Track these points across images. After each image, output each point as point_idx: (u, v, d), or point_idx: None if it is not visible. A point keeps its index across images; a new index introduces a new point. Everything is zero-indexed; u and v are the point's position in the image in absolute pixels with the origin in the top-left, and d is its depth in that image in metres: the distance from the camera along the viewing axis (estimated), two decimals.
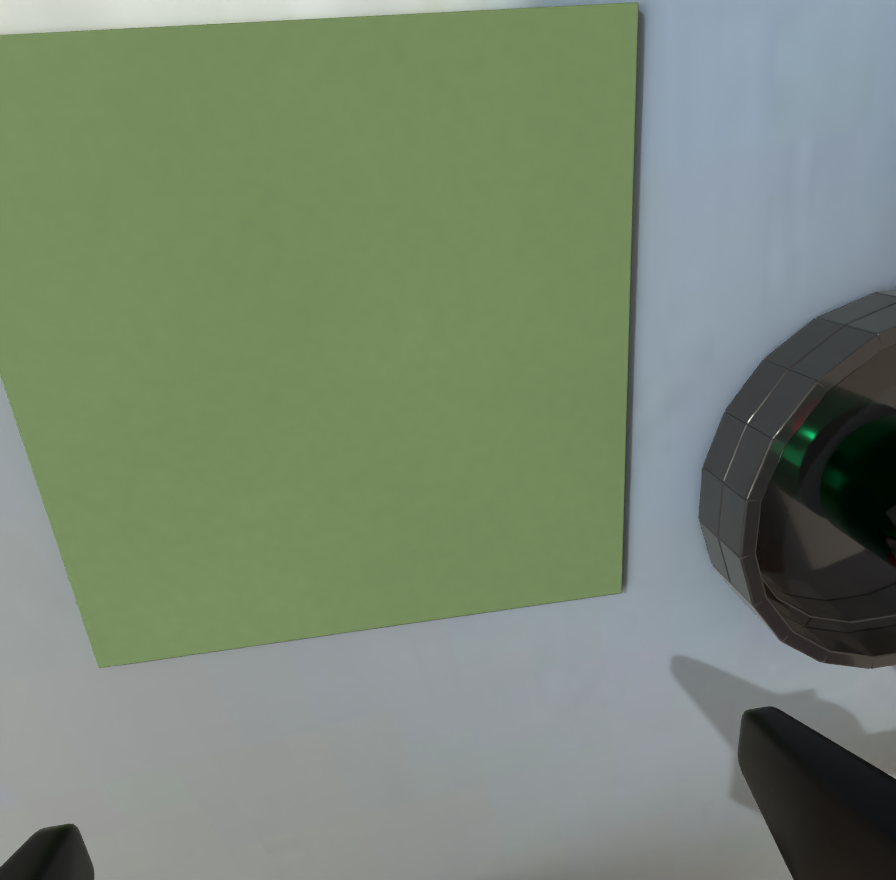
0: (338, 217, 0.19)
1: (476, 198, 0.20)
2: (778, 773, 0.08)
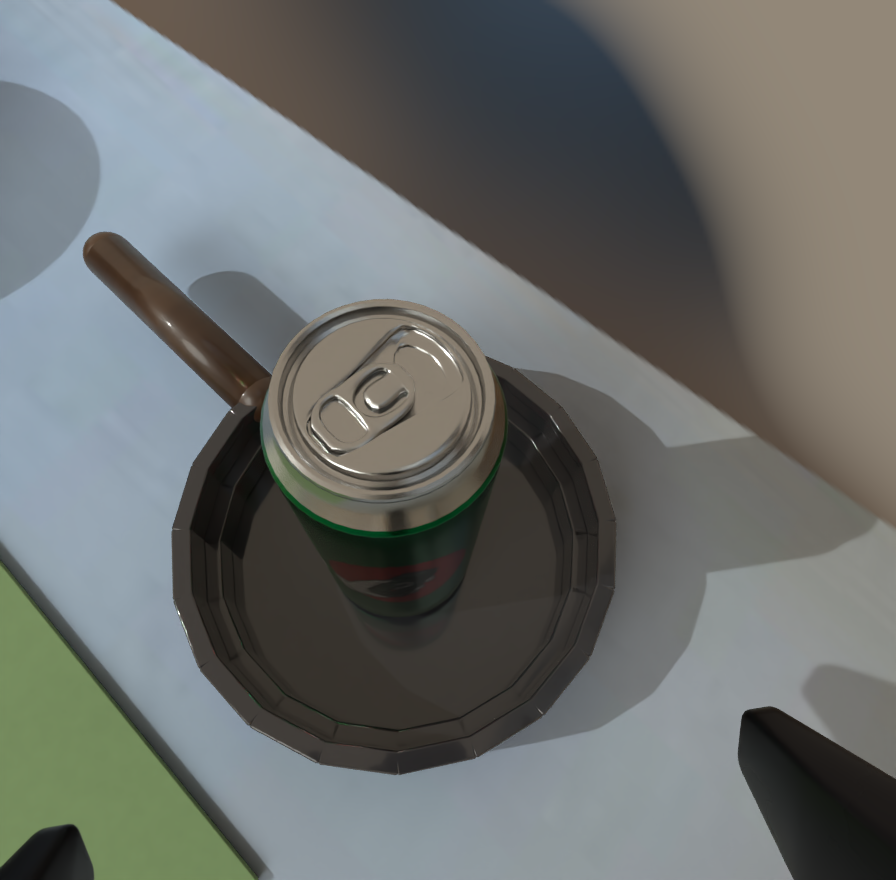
0: None
1: None
2: (778, 773, 0.08)
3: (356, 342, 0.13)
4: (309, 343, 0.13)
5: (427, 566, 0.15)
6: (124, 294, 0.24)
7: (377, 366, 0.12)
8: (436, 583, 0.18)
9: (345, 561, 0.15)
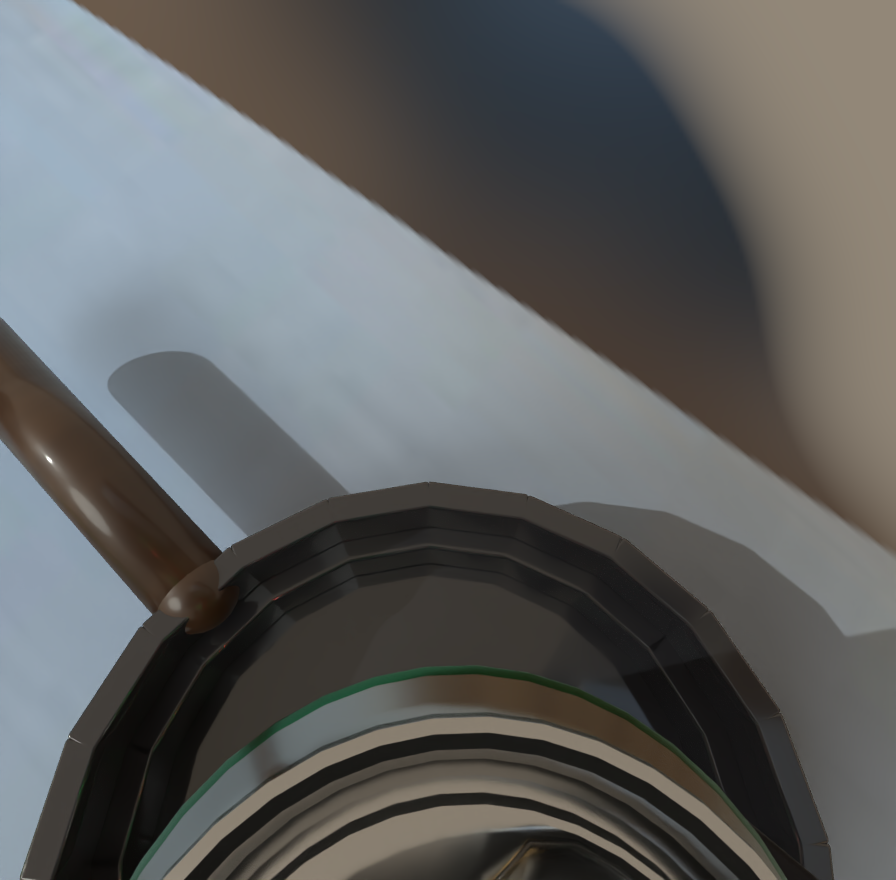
0: None
1: None
2: None
3: None
4: None
5: None
6: None
7: None
8: None
9: None
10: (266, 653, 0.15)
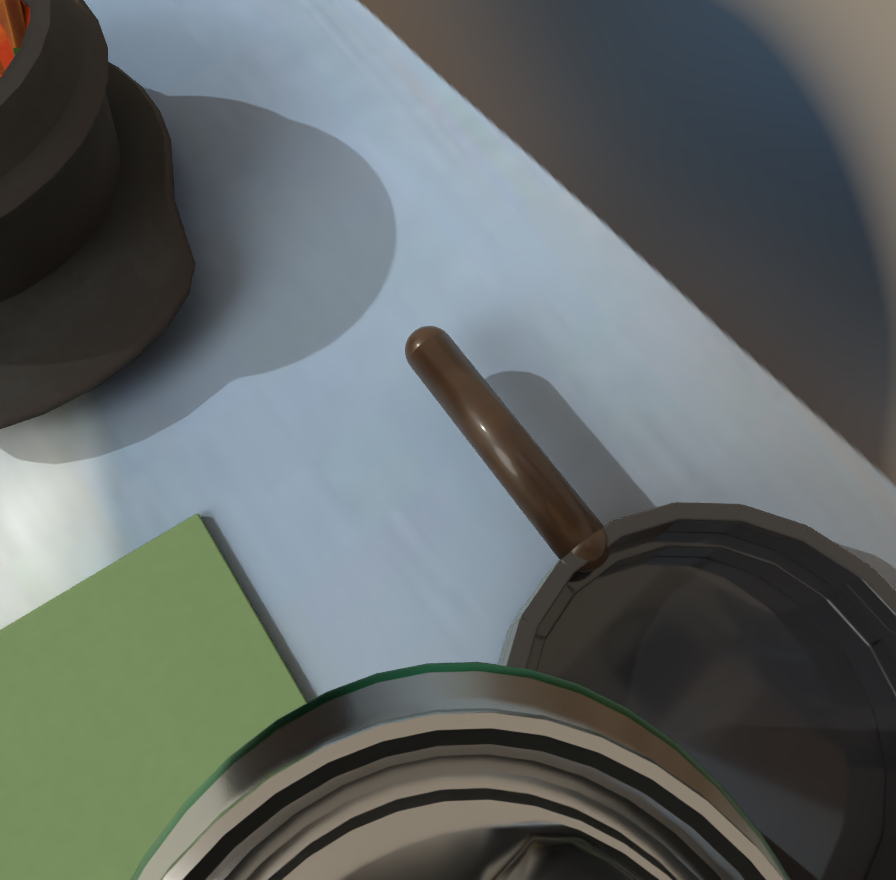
0: None
1: (123, 720, 0.20)
2: None
3: None
4: None
5: None
6: (451, 402, 0.22)
7: None
8: None
9: None
10: (594, 595, 0.23)
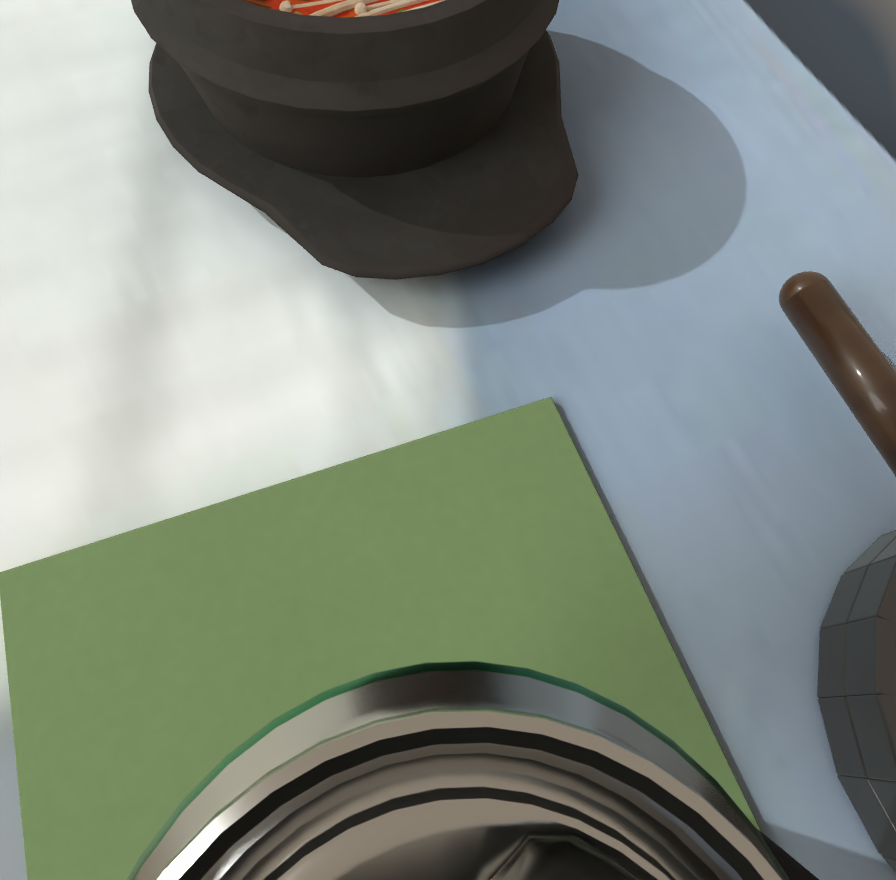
0: (359, 608, 0.21)
1: (476, 559, 0.22)
2: None
3: None
4: None
5: None
6: (833, 344, 0.23)
7: None
8: None
9: None
10: None
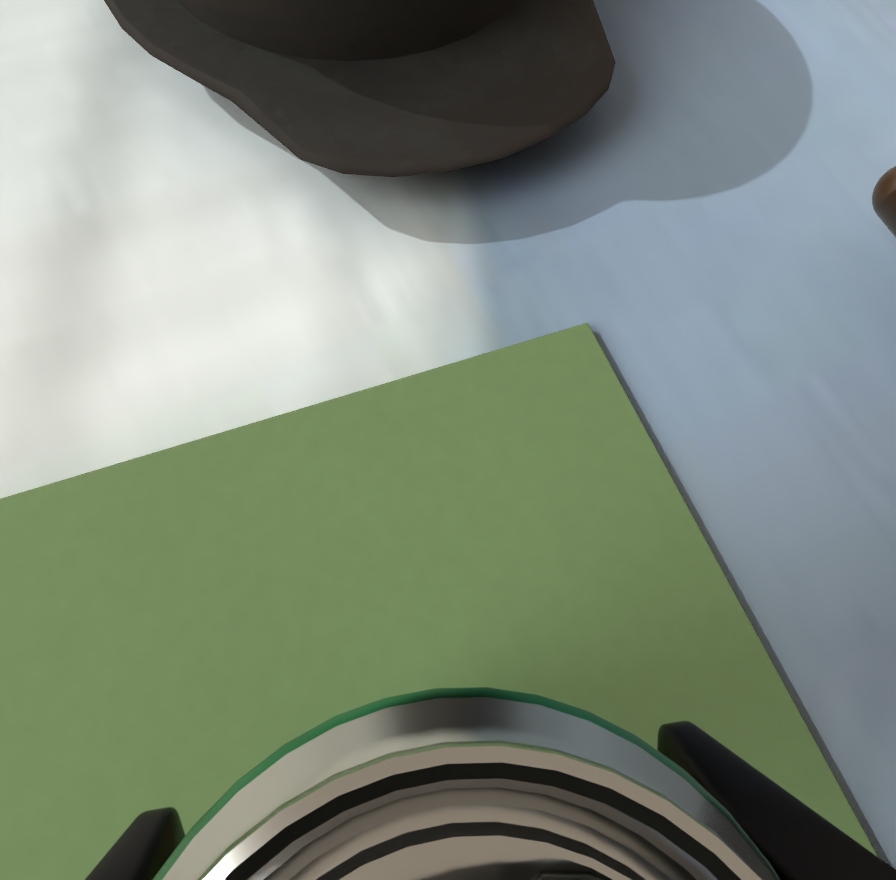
0: (345, 582, 0.16)
1: (498, 519, 0.17)
2: None
3: None
4: None
5: None
6: None
7: None
8: None
9: None
10: None
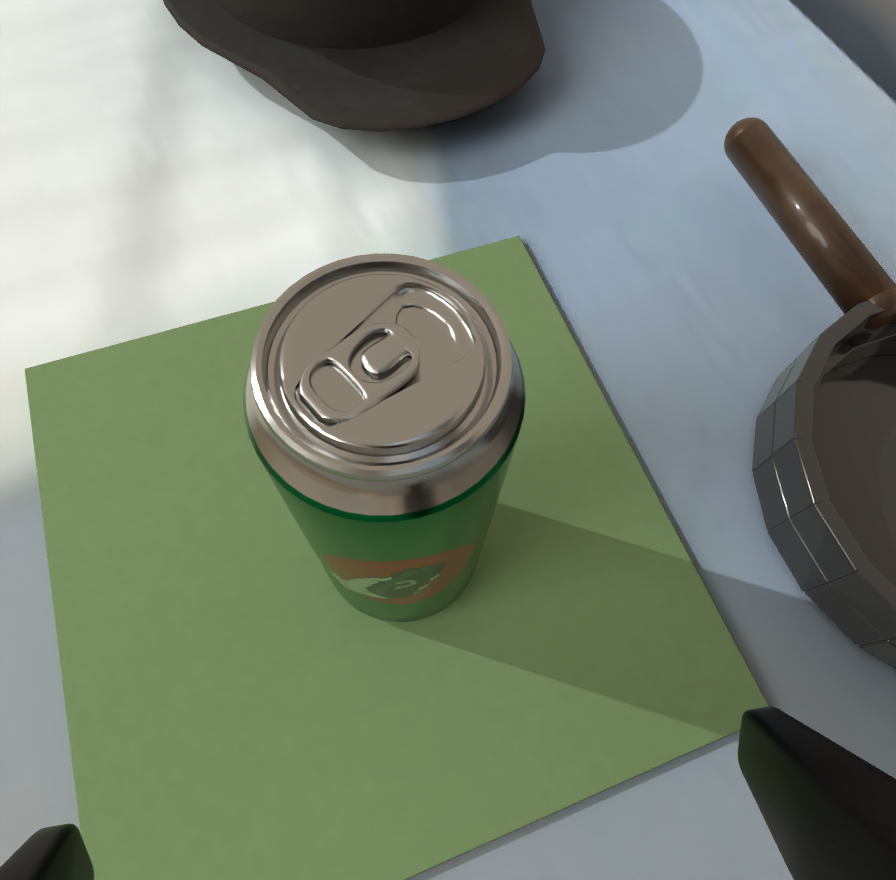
0: None
1: None
2: (778, 773, 0.08)
3: (354, 299, 0.11)
4: (300, 301, 0.11)
5: (432, 561, 0.14)
6: (769, 175, 0.25)
7: (377, 326, 0.11)
8: (441, 583, 0.16)
9: (340, 554, 0.13)
10: (858, 370, 0.25)
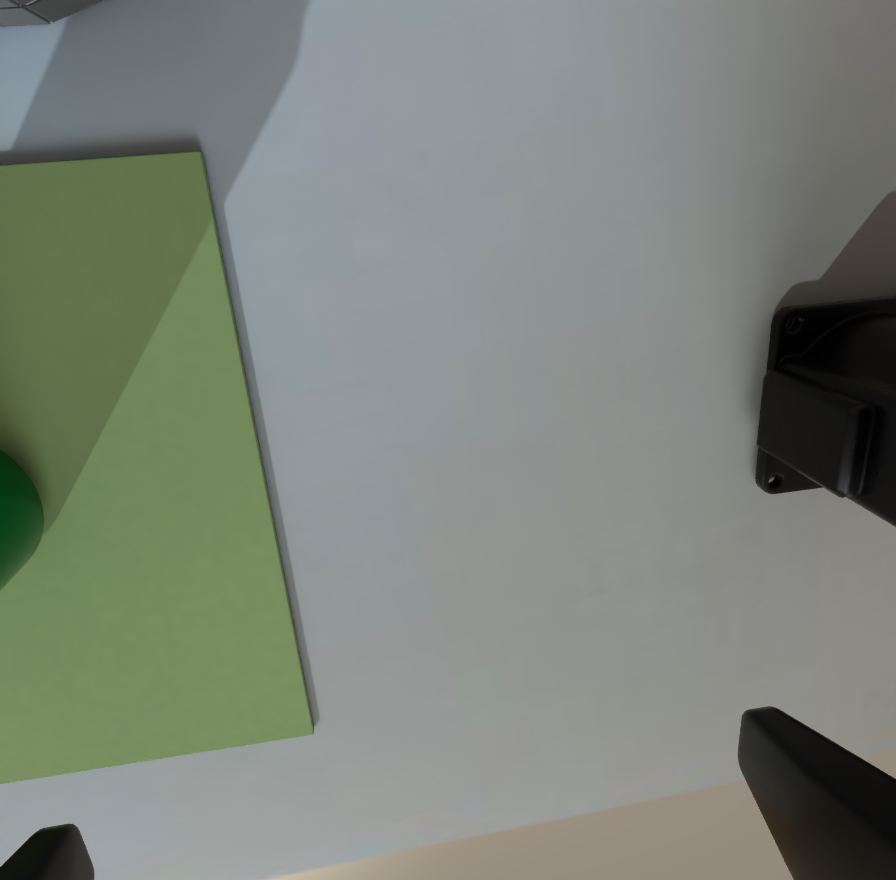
0: None
1: None
2: (778, 773, 0.08)
3: None
4: None
5: None
6: None
7: None
8: None
9: None
10: None
